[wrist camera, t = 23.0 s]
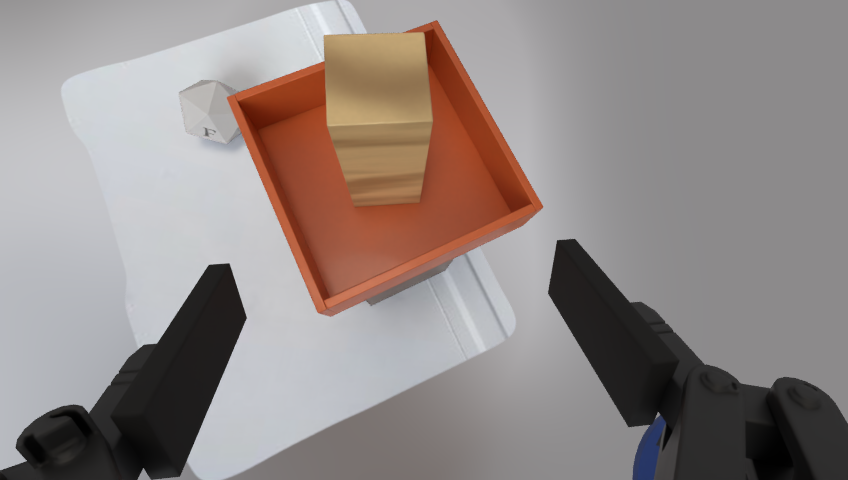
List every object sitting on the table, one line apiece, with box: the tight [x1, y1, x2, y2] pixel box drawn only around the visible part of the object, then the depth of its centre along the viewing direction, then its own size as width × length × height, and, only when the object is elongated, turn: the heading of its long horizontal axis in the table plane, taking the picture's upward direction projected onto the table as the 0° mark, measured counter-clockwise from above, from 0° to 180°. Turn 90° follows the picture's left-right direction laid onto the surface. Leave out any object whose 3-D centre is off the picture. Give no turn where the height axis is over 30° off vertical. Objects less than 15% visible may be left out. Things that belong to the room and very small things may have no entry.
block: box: [324, 32, 433, 207], centre depth 25 cm, size 5×5×12 cm
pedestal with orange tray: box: [227, 21, 543, 317], centre depth 43 cm, size 16×16×33 cm
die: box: [179, 80, 241, 144], centre depth 58 cm, size 8×9×10 cm
